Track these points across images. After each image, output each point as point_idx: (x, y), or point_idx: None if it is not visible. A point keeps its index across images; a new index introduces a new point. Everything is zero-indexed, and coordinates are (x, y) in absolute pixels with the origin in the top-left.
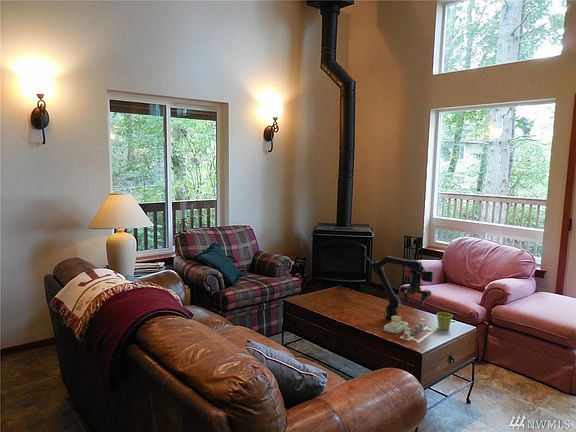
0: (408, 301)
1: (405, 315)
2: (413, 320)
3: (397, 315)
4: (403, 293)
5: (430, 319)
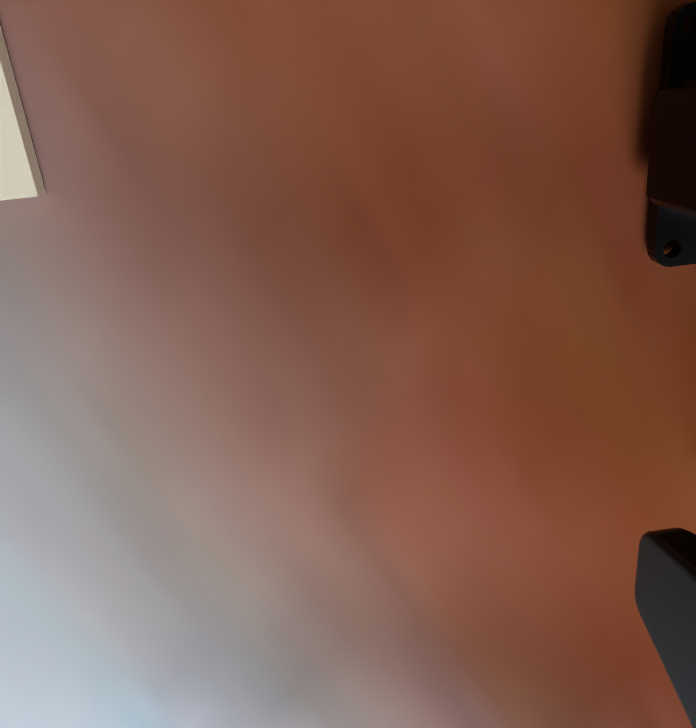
0: (663, 647)
1: (594, 520)
2: (339, 404)
3: (688, 190)
4: None
5: (157, 677)
